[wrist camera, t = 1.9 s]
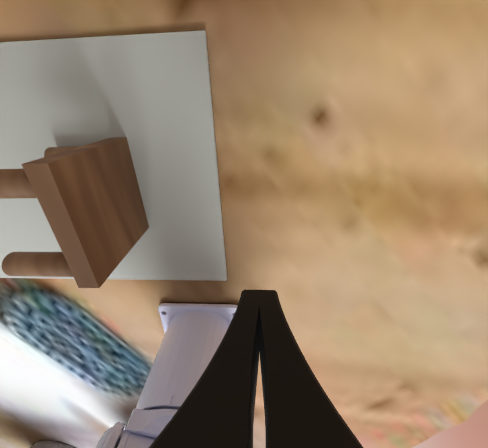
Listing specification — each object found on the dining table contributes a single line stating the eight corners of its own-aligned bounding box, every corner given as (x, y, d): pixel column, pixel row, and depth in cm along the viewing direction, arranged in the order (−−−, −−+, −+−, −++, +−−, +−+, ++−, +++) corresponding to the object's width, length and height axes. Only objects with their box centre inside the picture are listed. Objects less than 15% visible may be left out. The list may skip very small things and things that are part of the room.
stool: (126, 137, 17) (47, 163, 10) (149, 227, 20) (99, 287, 14) (54, 139, 17) (-64, 165, 11) (88, 227, 20) (12, 286, 14)
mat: (227, 278, 22) (227, 280, 22) (-16, 275, 24) (-19, 277, 24) (206, 31, 14) (204, 30, 14) (-168, 53, 15) (-175, 52, 15)
